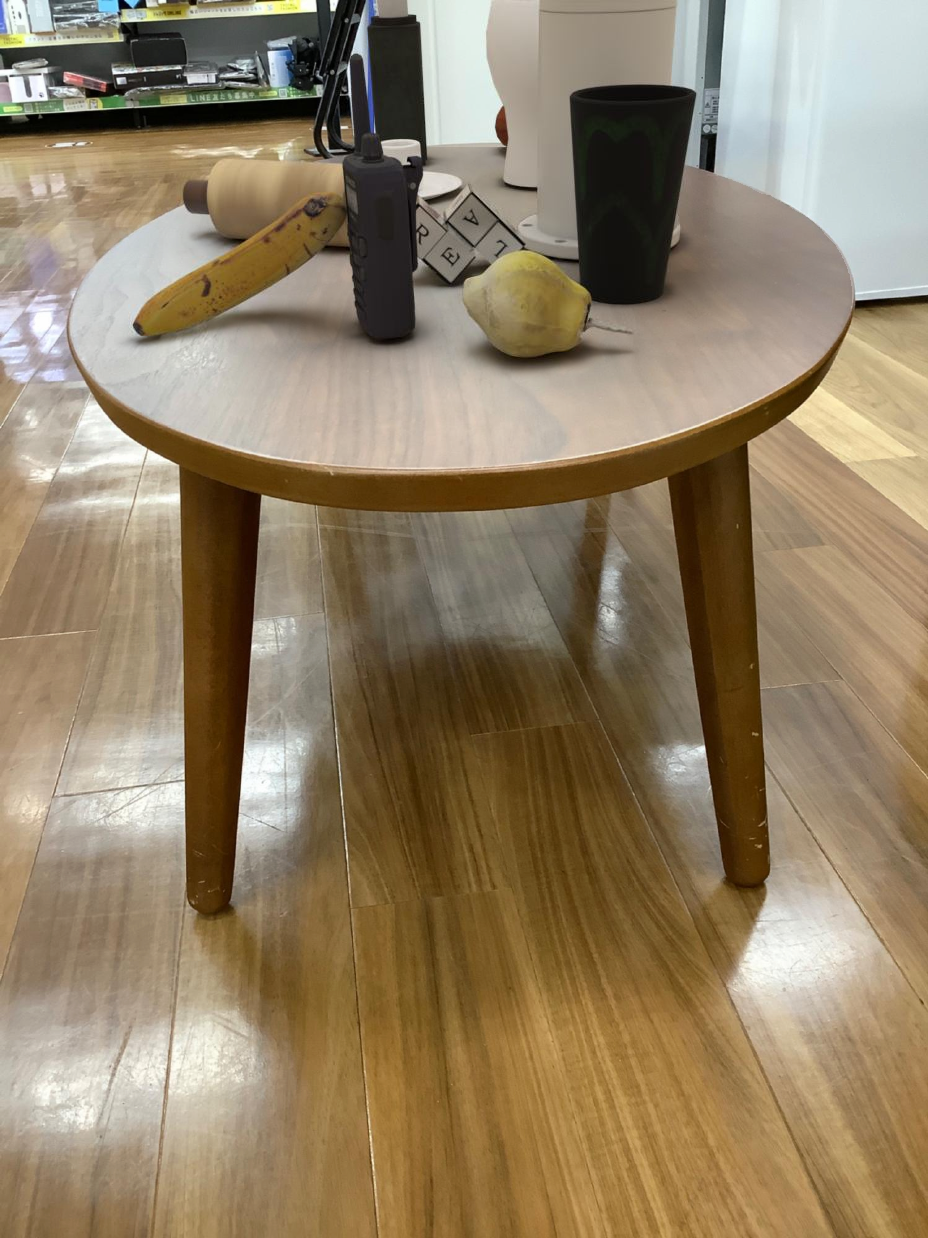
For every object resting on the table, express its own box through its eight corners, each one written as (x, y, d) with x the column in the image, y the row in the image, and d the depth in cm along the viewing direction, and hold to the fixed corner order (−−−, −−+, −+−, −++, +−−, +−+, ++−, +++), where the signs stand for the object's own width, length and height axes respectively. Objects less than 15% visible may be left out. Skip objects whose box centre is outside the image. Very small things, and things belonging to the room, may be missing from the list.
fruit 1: (308, 182, 54) (337, 233, 55) (353, 177, 62) (377, 222, 63) (99, 317, 60) (129, 363, 60) (165, 297, 68) (190, 337, 69)
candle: (425, 166, 105) (409, -133, 90) (376, 167, 105) (353, -130, 91) (427, 156, 109) (413, -131, 95) (381, 158, 109) (359, -128, 95)
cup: (687, 278, 70) (705, 84, 63) (668, 312, 64) (686, 102, 57) (579, 271, 72) (585, 83, 65) (552, 303, 66) (555, 101, 59)
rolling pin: (420, 234, 81) (413, 155, 77) (389, 262, 77) (380, 180, 73) (219, 221, 87) (203, 147, 83) (180, 245, 83) (161, 169, 79)
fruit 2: (637, 370, 56) (460, 353, 55) (615, 363, 62) (454, 347, 61) (653, 261, 54) (470, 241, 54) (629, 264, 60) (464, 246, 59)
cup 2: (565, 163, 102) (569, -10, 94) (619, 182, 94) (629, -5, 86) (470, 176, 99) (465, -3, 90) (518, 196, 91) (518, 3, 82)
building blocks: (472, 289, 76) (391, 214, 72) (521, 234, 74) (441, 154, 70) (477, 311, 71) (391, 232, 68) (530, 254, 69) (445, 170, 66)
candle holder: (367, 214, 88) (363, 161, 86) (316, 190, 97) (310, 141, 94) (485, 195, 93) (484, 144, 90) (425, 173, 101) (423, 126, 99)
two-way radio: (350, 318, 64) (324, 51, 56) (417, 309, 65) (401, 46, 57) (371, 346, 60) (345, 61, 51) (441, 336, 61) (428, 55, 52)
